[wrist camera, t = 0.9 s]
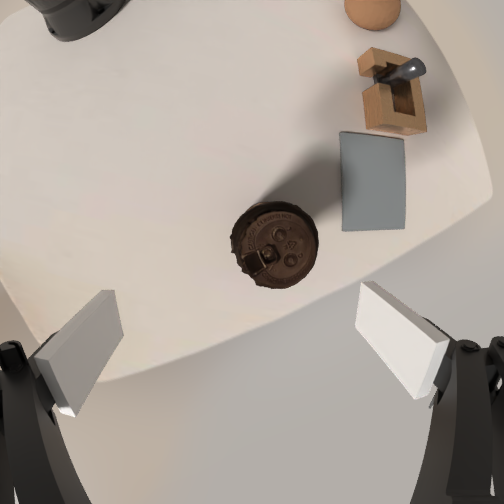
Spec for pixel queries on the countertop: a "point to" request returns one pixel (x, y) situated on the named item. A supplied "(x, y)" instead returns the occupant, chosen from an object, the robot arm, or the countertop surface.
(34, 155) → the countertop surface
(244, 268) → the coffee cup
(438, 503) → the robot arm
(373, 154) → the mat
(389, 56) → the c link
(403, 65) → the post stand
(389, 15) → the egg
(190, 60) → the countertop surface
